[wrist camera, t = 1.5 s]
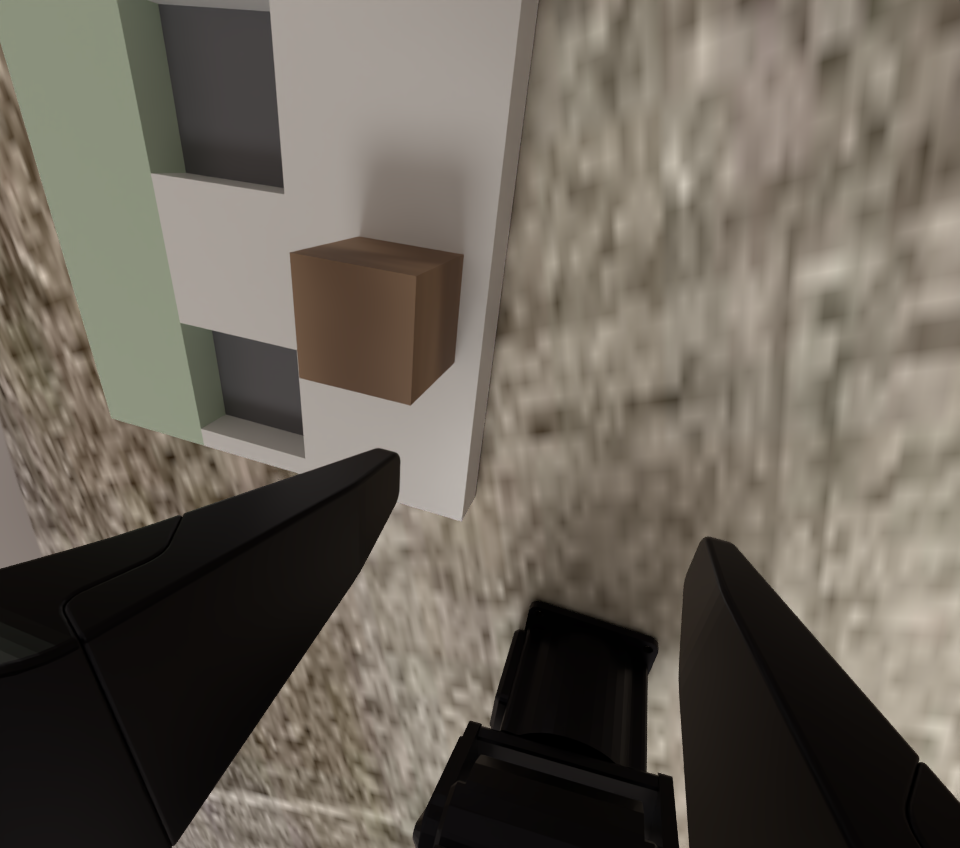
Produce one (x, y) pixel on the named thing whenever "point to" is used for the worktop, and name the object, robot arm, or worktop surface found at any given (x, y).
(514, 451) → the worktop surface
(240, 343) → the trap deck
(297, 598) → the robot arm
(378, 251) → the walnut block
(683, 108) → the worktop surface
